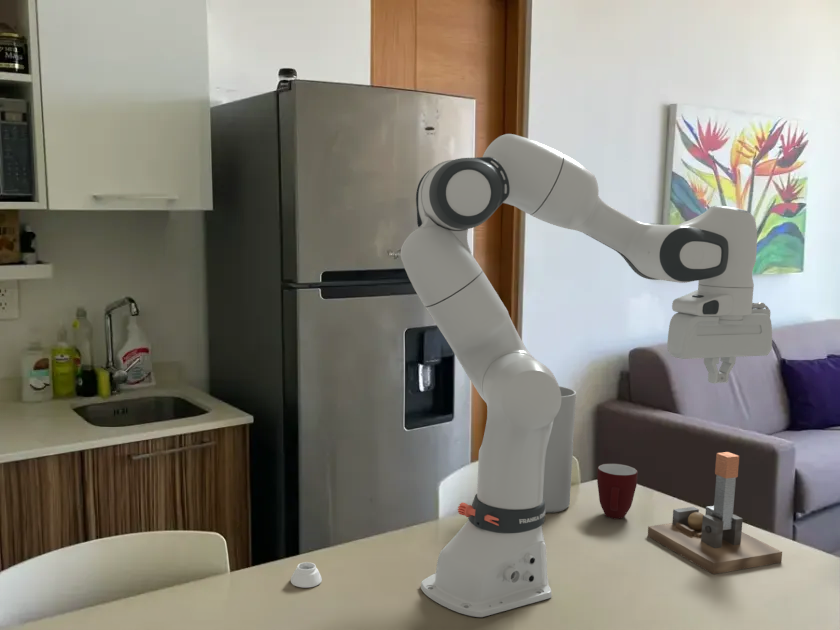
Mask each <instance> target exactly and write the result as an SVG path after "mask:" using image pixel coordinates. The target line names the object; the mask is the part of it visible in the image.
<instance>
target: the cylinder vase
mask: <svg viewBox="0 0 840 630" xmlns="http://www.w3.org/2000/svg"><path fill="white" fill-rule="evenodd" d="M559 388H560V391H561V406H560V409H559V412H558V414H557V415H556V417H555V418H554V421H553V426H552V430H551V434H550V438H549V442H548V446H547V451H546V457H545V469H544V485H543V499H544V501H545V509H546V510H545V514H547V513H548V514H551V513H552V514H553V513H558V512H559V513H560V512H562V511H564V510H566V509H567V508H568V507H570V503H571V491H572V490H571V489H572V488H571V486H572V471H573V470H572V469H573V453H574V452H573V451H574V436H575V418H576V404H577V403H576V402H577V401H576V399H577V391H576V390H574V389H573V388H569V387H565V386H560V385H559Z"/></svg>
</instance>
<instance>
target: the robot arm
mask: <svg viewBox="0 0 840 630" xmlns="http://www.w3.org/2000/svg"><path fill="white" fill-rule="evenodd" d="M416 188H417V189H416V193H415V194H416V195H415V204H416V205H415V206H416V222H417V224H416V225H417V227H418V228H416V229H415V230H413V231H412V232H411V233H409V235H408V236H406V239H405V240H404V242H403V243H402V245H401V249H400V259H401V262H402V265H403V268H404V270H405V273H406V274H407V277H408V279H409V281H410V283H411V286H412V287H413V289H414V291H415V292H416V294H417V296H418V298H419V300H420V302H421V303H422V304H423V306H424V308H425V309H426V311H427V313H428V314H429V315H430V317H431V318H432V320H433V322H434V323H435V326H437V328H438V329H439V331H440V333H441V334H442V336H443V337H444V339H445V340H446V342H447V343H448V346H449V347H450V348H451V350H452V352H453V354H454V355H455V357H456V359H457V360H458V362H459V364H460V365H461V366H462V368H463V371H464V372H465V374H466V375H467V377H468V378H469V380H470V382H471V383H472V385H473V386H474V388H475V390H476V392H477V393H478V394H479V396H480V397H481V399H482V400H483V401H484V403H486V406H487V407H486V409H487V413H486V415H487V416H486V422H485V423H486V424H485V428H484V433H483V434H484V435H483V438H482V441H481V446H480V448H479V450H478V460H477V461H478V463H477V464H478V465H477V483H476V485H477V486H476V487H477V488H476V494H475V495H474V497H473V500H472V502H471V503H472V505H471V504H468V503H466V502H460V503H459V505H458V506H457V513H458V514H459V515H460V516H465V517H466V518H467V519H468V520H467V521H466V522H465V524H463V526H462V527H461V528H460V529H459V530H458V531H457V533H456V534H454V536H453V537H452V538H451V540H449V542H448V543H447V544H446V545H445V546H444V547H443V548H442V549H441V550H440V552H439V555H438V558H437V563H436V569H435V573H433V574H431V575H429V576H428V577H427V576H426V578H424V579H423V580H422V581H421V582H420V583H421V584H420V588H421V591H422V592H423V593H424V594H425V596H427V597H428V598H430V599H431V600H432V601H434V602H436V603H437V604H439V605H440V606H443V607H445V608H447V609H449V610H451V611H453V612H456V613H459V614H462V615H465V616H469V617H476V618H483V617H487V616H490V615H491V616H492V615H495V614H498V613H503V612H505V611H509V610H513V609H516V608H520V607H524V606H527V605H530V604H531V605H532V604H534V603H538V602H541V601H544V600H548V599H550V598H552V588H551V587H550V585H549V578H548V560H547V544H546V541H545V537H544V532H543V525H544V523H545V517H546V513H545V510H546V509H545V501H544V499H543V485H544V469H545V457H546V451H547V446H548V442H549V438H550V434H551V430H552V426H553V421H554V418H555V417H556V415H557V414H558V412H559V409H560V406H561V391H560V388H559V386H560V385H559V383H558V380H557V379H556V377H555V375H554V373H553V372H552V371H551V370H550V368H549V367H548V366H546V365H544V364H543V363H542V362H540V361H539V360H538V359H536V358H535V357H534V356H533V355H532V354H531V352H529V351H528V349H527V347H526V346H525V344H524V342H523V340H522V338H521V337H520V335H519V332H518V331H517V328H516V326H515V324H514V323H513V321H512V319H511V317H510V314H509V311H508V309H507V307H506V306H505V304H504V302H503V301H502V300H501V298H500V296H499V294H498V292H497V291H496V290H495V288H494V286H493V284H492V283H491V282H490V280H489V278H488V277H487V275H486V273H485V272H484V270H483V268H482V267H481V266H480V264H479V263H478V261H477V260H476V258H475V257H474V256H473V255H474V254H472V250H471V248H470V246H469V243H468V242H469V241H468V233H469V229H473V228H476V227H478V226H480V225H482V224H483V223H485V222H486V221H488V219H490V218H491V216H492V215H493V214H494V213H495V212H496V211H497V210H498V208H500V207H501V206H502V204H506V205H510V206H513V207H515V208H517V209H519V210H520V211H522V212H524V213H526V214H528V215H530V216H532V217H533V218H536V219H538V220H540V221H542V222H545V223H547V224H550V225H553V226H557V227H559V228H564V229H567V230H573V231H576V232H579V233H583V234H584V235H586V236H588V237H590V238H591V239H593V240H596V241H597V242H598V243H600V244H603V245H605V246H606V247H608V248H609V249H612V250H614V251H615V252H617V253H618V254H619V255H620V256H621V257H622V258H623V259H624V261H625V262H626V263H627V265H628V266H629V267H630V269H631V270H632V271H633V272H634V273H635V274H637V275H638V276H639V277H641V278H643V279H646V280H650V281H651V280H653V281H654V280H655V281H656V280H658V281H659V280H661V281H667V282H672V283H679V284H686V283H691V282H695V281H698V285H697V290H694V291H692V292H690V293H688V294H687V293H686V294H685V295H682V296H680V297H677V298H675V299H674V300H673V301H672V305H671V309H672V311H673V312H674V314H673V315H672V317H671V318H670V322H669V325H668V333H667V347H666V348H667V351H668V354H669V355H670V356H671V357H673V358H676V359H681V360H694V359H703V364H704V366H705V368H706V371H707V372H708V374H707V375H708V376H707V381H708V383H710V384H726V383H728V382H729V377H730V373H731V371H732V370H733V368H734V367H735V365H736V360H737V358H738V357H739V358H741V357H743V358H744V357H760V356H761V357H763V356H764V357H765V356H766V357H767V356H768V355H769V354H770V353H771V351H772V350H773V349H772V348H773V327H772V320H771V309H769V307H768V305H766V303H764V302H753V300H754V299H753V298H754V286H755V285H754V280H753V270H754V267H755V264H756V262H757V251H758V250H757V249H758V230H757V229H758V228H757V222H756V219H755V217H754V215H753V214H752V213H751V212H749V211H748V210H745V209H742V208H738V207H735V206H734V207H732V206H726V205H714V206H713V205H712V206H710V207H709V208H708V209H707V210H706V211H704V212H703V213H702V214H700V215H698V216H696V217H693V218H692V219H689V220H686V221H684V222H680V223H679V224H664V223H655V222H650V223H649V222H641V221H638V220H636V219H634V218H632V217H630V216H628V215H627V214H625V213H623V212H621V211H619V210H618V209H616V208H614V207H612V206H611V205H609V204H608V203H606V202H605V201H603V200H602V198H600V196H599V185H598V181H597V177H595V174H593V172H591V171H590V170H589V169H588V168H586V166H584V165H582V164H581V163H580V162H578V161H577V160H575V159H574V158H572V157H571V156H568V155H567V154H564V153H562V152H561V151H559V150H557V149H555V148H553V147H550V146H548V145H546V144H543V143H542V142H538V141H536V140H533V139H531V138H528V137H524V136H521V135H518V134H514V133H513V134H512V133H505V134H503V135H499V136H498V137H497V138H495V139H494V140H492V142H491V143H490V144H489V145H488V146H487V148H486V149H485V151H484V153H483V155H482V156H480V157H479V156H478V157H461V158H456V159H449V160H445V161H442V162H440V163H438V164H436V165H435V166H433V167H431V168H430V169H429V170H428V171H426V173H424V174H423V176H422V177H421V179H420V180H419V182H418V185H417V187H416ZM675 312H676V313H675ZM720 361H721V362H722V363H721V365H720V366H719V369H718V366H717V365H718V364H719V363H720Z"/></svg>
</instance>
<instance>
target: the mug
mask: <svg viewBox="0 0 840 630" xmlns="http://www.w3.org/2000/svg"><path fill="white" fill-rule="evenodd" d="M596 476H597V477H596V478H597V479H596V480H597V481H596V482H597V489H598V490H597V491H598V500H599V504H600V507H601V509H602V511H603V514H604V515H605V517H608V518H609V517H610V519H614V518H615V520H619V519H621V520H622V519H624V518H625V517H626V515H627V513H629V511H630V509H631V507H632V504H633V500H634V496H635V492H636V489H637V483H638V470H637V469H636V468H635V467H632V466H629V465H626V464H621V463H603V464H600V465H598V467H597V475H596Z"/></svg>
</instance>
